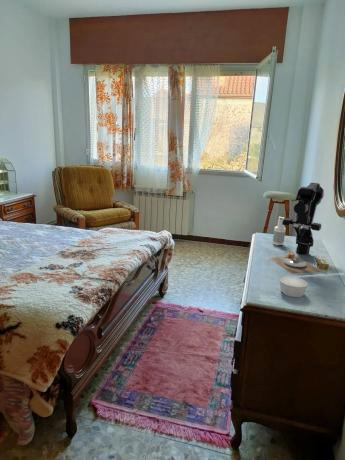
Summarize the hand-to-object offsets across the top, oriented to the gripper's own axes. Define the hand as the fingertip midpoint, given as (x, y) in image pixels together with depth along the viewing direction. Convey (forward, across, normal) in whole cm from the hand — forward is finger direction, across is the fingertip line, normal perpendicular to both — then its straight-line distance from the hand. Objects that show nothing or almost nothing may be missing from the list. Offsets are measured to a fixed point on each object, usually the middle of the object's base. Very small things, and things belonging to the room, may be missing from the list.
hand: (299, 239), depth 172 cm
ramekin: (+13, -9, +41) cm, 44 cm away
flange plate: (+11, 0, +6) cm, 13 cm away
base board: (+13, -1, +7) cm, 15 cm away
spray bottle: (+13, +18, -26) cm, 34 cm away
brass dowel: (+12, +4, +2) cm, 13 cm away
